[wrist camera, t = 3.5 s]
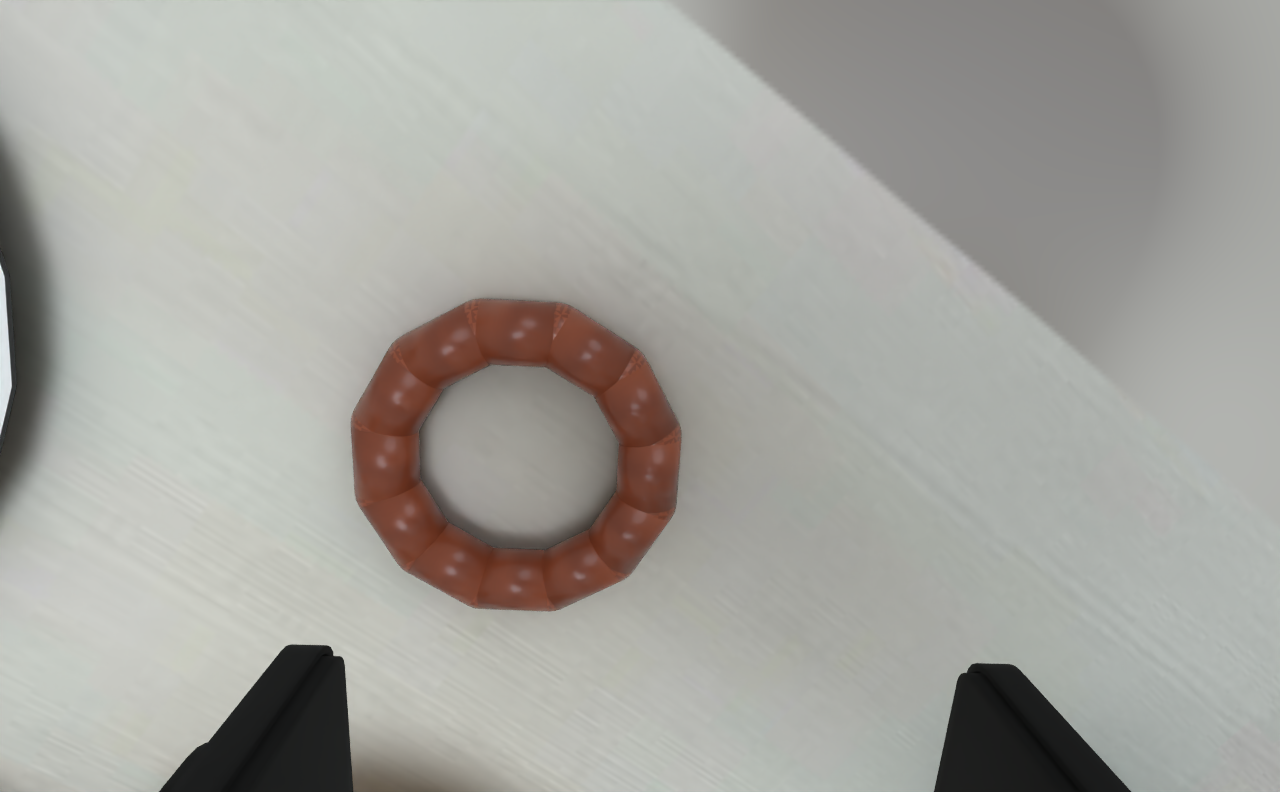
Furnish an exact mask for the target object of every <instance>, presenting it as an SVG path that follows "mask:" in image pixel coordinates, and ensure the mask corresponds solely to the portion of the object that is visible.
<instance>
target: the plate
mask: <svg viewBox="0 0 1280 792" xmlns="http://www.w3.org/2000/svg"><path fill="white" fill-rule="evenodd" d="M16 387H17V379H16V364H15V348H14V333H13V318H12V302H11V287H10V275H9V272H8V269H7V266H6V263H5V260H4V257H3V254H2V251H1V248H0V454H1V450H2V445H3V441H4V437H5V433H6V429H7V424H8V420H9V416H10V412H11V408H12V403H13V399H14V395H15V391H16Z"/></svg>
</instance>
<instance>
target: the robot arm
mask: <svg viewBox="0 0 1280 792" xmlns="http://www.w3.org/2000/svg"><path fill="white" fill-rule="evenodd" d="M159 792H353V781H352V766H351V752H350V737H349V722H348V708H347V693H346V678H345V665H344V660H343V658H342V657H340V656H333V651H332V649H331V647H329V646H325V645H288V646H286V647H285V648H284V649H283V650H282V651H281V652H280V653H279V654H278V656H277V657H276V658H275V659H274V661H273V662H272V663H271V664H270V666H269V667H268V668H267V669H266V671H265V672H264V673H263V674H262V676H261V677H260V678H259V679H258V681H257V682H256V683H255V684H254V686H253V687H252V688H251V689H250V691H249V692H248V693H247V694H246V696H245V697H244V698H243V699H242V701H241V702H240V703H239V704H238V706H237V707H236V708H235V709H234V711H233V712H232V713H231V714H230V716H229V717H228V718H227V719H226V721H225V722H224V723H223V724H222V726H221V727H220V728H219V729H218V731H217V732H216V733H215V734H214V736H213V737H212V738H211V739H210V741H209V742H208V743H205V744H203V745H201V746H199V747H197V748H196V749H195V750H194V751H193V752H192V753H191V754H190V755H189V756H188V757H187V758H186V759H185V761H184V762H183V763H182V764H181V766H180V767H179V768H178V769H177V770H176V772H175V773H174V774H173V775H172V777H171V778H170V779H169V780H168V781H167V783H166V784H165V785H164V786H163V788H162V789H161V790H160V791H159ZM934 792H1131V791H1130V790H1129V789H1128V788H1127V787H1126V786H1125V784H1124V783H1123V782H1122V781H1121V780H1120V779H1119V778H1118V777H1117V776H1116V775H1115V773H1114V772H1113V771H1112V770H1111V769H1110V768H1109V767H1108V766H1107V765H1106V764H1105V763H1104V761H1103V760H1102V759H1101V758H1100V757H1099V756H1098V755H1097V754H1096V753H1095V752H1094V751H1093V749H1092V748H1091V747H1090V746H1089V745H1088V744H1087V743H1086V742H1085V741H1084V740H1083V738H1082V737H1081V736H1080V735H1079V734H1078V733H1077V732H1076V731H1075V730H1074V729H1073V728H1072V726H1071V725H1070V724H1069V723H1068V722H1067V721H1066V720H1065V719H1064V718H1063V717H1062V716H1061V714H1060V713H1059V712H1058V711H1057V710H1056V709H1055V708H1054V707H1053V706H1052V705H1051V703H1050V702H1049V701H1048V700H1047V699H1046V698H1045V697H1044V696H1043V695H1042V694H1041V693H1040V691H1039V690H1038V689H1037V688H1036V687H1035V686H1034V685H1033V684H1032V683H1031V682H1030V680H1029V679H1028V678H1027V677H1026V676H1025V675H1024V674H1023V673H1022V672H1021V671H1020V670H1019V669H1018V668H1017V667H1016V666H1014V665H1010V664H984V663H975V664H972V665H971V666H970V667H969V668H968V671H967V673H963V674H961V675H960V676H959V678H958V681H957V685H956V690H955V694H954V699H953V704H952V709H951V713H950V718H949V723H948V728H947V733H946V737H945V742H944V747H943V752H942V756H941V761H940V766H939V771H938V775H937V780H936V785H935V790H934Z"/></svg>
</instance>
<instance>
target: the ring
mask: <svg viewBox="0 0 1280 792" xmlns="http://www.w3.org/2000/svg"><path fill="white" fill-rule="evenodd" d="M489 365H509V366H529V367H547V368H548V369H550V370H551V371H553V372H555V373H556V374H558V375H559V376H561V377H563V378H564V379H566V380H567V381H569V382H571V383H572V384H574V385H576V386H577V387H579V388H580V389H582V390H584V391H585V392H587V393H588V394H590V395H592V396H593V397H594V398H595V400H596V402H597V403H598V405H599V407H600V409H601V411H602V413H603V415H604V416H605V418H606V420H607V422H608V424H609V426H610V427H611V429H612V431H613V433H614V435H615V437H616V439H617V440H618V442H619V447H618V466H617V486H616V491H615V493H614V494H613V496H612V497H611V499H610V500H609V502H608V503H607V504H606V506H605V507H604V509H603V510H602V512H601V513H600V515H599V516H598V518H597V519H596V520H595V522H594V523H593V525H592V526H591V528H590V529H588V530H586V531H584V532H582V533H580V534H578V535H575V536H573V537H571V538H569V539H567V540H565V541H563V542H561V543H559V544H557V545H554V546H552V547H550V548H548V549H546V550H538V549H513V548H493V547H492V546H490V545H488V544H486V543H485V542H483V541H481V540H479V539H477V538H476V537H474V536H472V535H470V534H469V533H467V532H465V531H463V530H461V529H460V528H458V527H456V526H454V525H453V524H451V523H449V522H448V521H447V520H446V518H445V517H444V515H443V513H442V512H441V510H440V509H439V507H438V506H437V504H436V502H435V501H434V499H433V498H432V496H431V495H430V493H429V491H428V490H427V488H426V487H425V485H424V484H423V482H422V480H421V477H420V444H419V430H420V428H421V426H422V425H423V423H424V421H425V420H426V418H427V416H428V415H429V413H430V411H431V410H432V408H433V406H434V404H435V403H436V401H437V399H438V398H439V396H440V394H441V393H442V391H443V389H444V388H446V387H448V386H450V385H452V384H454V383H456V382H458V381H459V380H461V379H463V378H465V377H467V376H469V375H471V374H473V373H475V372H477V371H479V370H481V369H483V368H485V367H487V366H489ZM351 437H352V455H353V472H354V489H355V497H356V501H357V503H358V505H359V507H360V508H361V510H362V511H363V513H364V514H365V516H366V517H367V519H368V520H369V522H370V523H371V525H372V526H373V528H374V529H375V531H376V532H377V534H378V535H379V537H380V538H381V540H382V541H383V543H384V544H385V546H386V547H387V549H388V550H389V552H390V553H391V555H392V556H393V558H394V559H395V561H396V562H397V564H398V565H399V566H400V567H401V568H402V569H403V570H404V571H406V572H407V573H409V574H411V575H413V576H415V577H417V578H418V579H420V580H422V581H424V582H426V583H428V584H429V585H431V586H433V587H435V588H437V589H439V590H441V591H442V592H444V593H446V594H448V595H450V596H452V597H453V598H455V599H457V600H459V601H461V602H463V603H464V604H466V605H468V606H471V607H473V608H478V609H500V610H526V611H556V610H559V609H562V608H564V607H566V606H568V605H571V604H573V603H575V602H577V601H579V600H581V599H583V598H586V597H588V596H590V595H592V594H594V593H596V592H598V591H601V590H603V589H605V588H607V587H609V586H611V585H614V584H616V583H618V582H620V581H622V580H624V579H625V578H627V577H628V576H629V575H630V574H631V573H632V572H633V571H634V569H635V568H636V566H637V565H638V564H639V562H640V561H641V559H642V558H643V557H644V555H645V554H646V552H647V551H648V550H649V548H650V547H651V546H652V544H653V543H654V541H655V540H656V539H657V537H658V536H659V534H660V533H661V532H662V530H663V529H664V527H665V526H666V525H667V523H668V522H669V520H670V519H671V517H672V516H673V514H674V512H675V508H676V503H677V490H678V477H679V463H680V450H681V428H680V425H679V422H678V420H677V418H676V416H675V414H674V412H673V410H672V408H671V407H670V405H669V403H668V401H667V399H666V397H665V395H664V393H663V391H662V389H661V387H660V385H659V383H658V381H657V379H656V377H655V375H654V373H653V371H652V369H651V367H650V365H649V364H648V362H647V360H646V358H645V356H644V355H643V354H642V353H641V352H640V351H639V350H638V349H637V348H636V347H634V346H633V345H631V344H629V343H628V342H626V341H625V340H623V339H622V338H620V337H619V336H617V335H615V334H614V333H612V332H611V331H609V330H608V329H606V328H605V327H603V326H601V325H600V324H598V323H597V322H595V321H594V320H592V319H591V318H589V317H587V316H586V315H584V314H583V313H581V312H580V311H578V310H577V309H575V308H573V307H571V306H569V305H567V304H563V303H557V302H539V301H520V300H502V299H474V300H470V301H468V302H466V303H464V304H462V305H460V306H458V307H456V308H454V309H452V310H450V311H448V312H446V313H445V314H443V315H441V316H439V317H437V318H435V319H433V320H431V321H429V322H427V323H425V324H424V325H422V326H420V327H418V328H416V329H414V330H412V331H410V332H408V333H406V334H405V335H403V336H401V337H399V338H398V339H397V340H395V341H394V342H393V343H392V345H391V346H390V347H389V349H388V351H387V353H386V354H385V356H384V358H383V360H382V361H381V363H380V365H379V367H378V368H377V370H376V372H375V374H374V375H373V377H372V379H371V381H370V383H369V384H368V386H367V388H366V390H365V391H364V393H363V395H362V397H361V398H360V400H359V402H358V404H357V405H356V407H355V409H354V411H353V414H352V418H351Z"/></svg>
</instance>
